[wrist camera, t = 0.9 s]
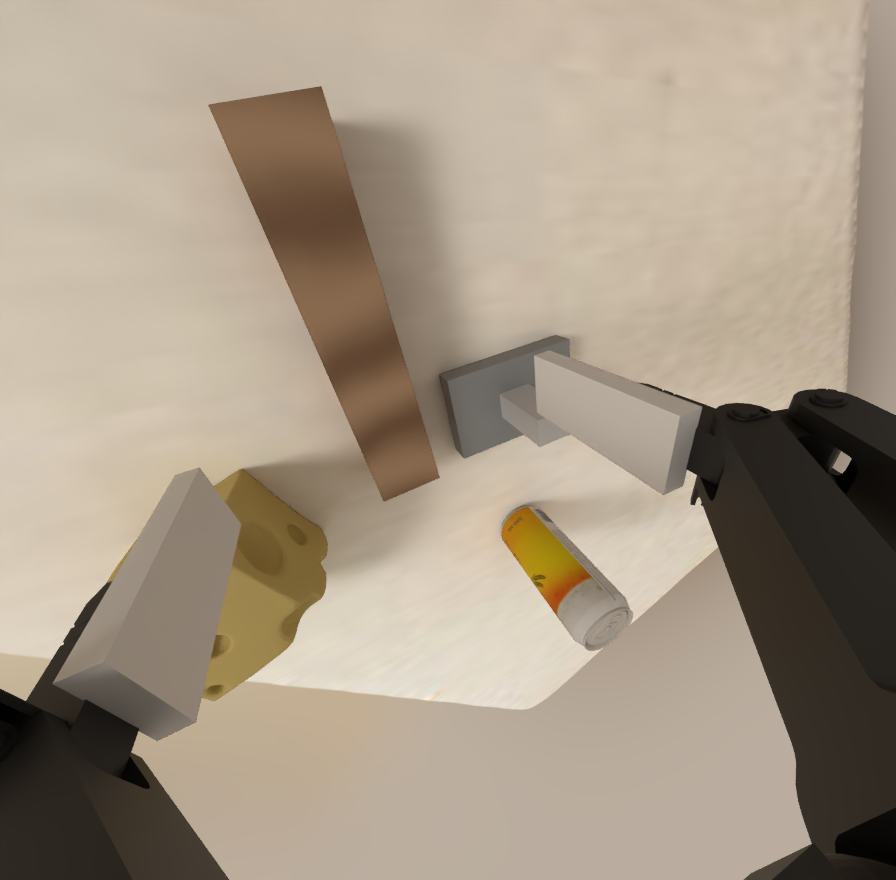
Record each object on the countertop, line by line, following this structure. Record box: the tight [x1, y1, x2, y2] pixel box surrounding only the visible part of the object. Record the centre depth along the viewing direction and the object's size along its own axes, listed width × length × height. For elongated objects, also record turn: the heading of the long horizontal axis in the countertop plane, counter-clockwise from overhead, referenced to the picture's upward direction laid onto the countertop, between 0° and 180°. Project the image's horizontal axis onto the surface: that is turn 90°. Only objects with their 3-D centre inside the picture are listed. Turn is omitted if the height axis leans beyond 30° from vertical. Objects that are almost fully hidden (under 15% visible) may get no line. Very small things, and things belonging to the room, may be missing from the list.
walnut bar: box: [209, 86, 440, 501], centre depth 23 cm, size 24×5×5 cm, turn 13°
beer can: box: [501, 506, 633, 651], centre depth 36 cm, size 6×6×15 cm
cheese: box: [107, 469, 327, 701], centre depth 25 cm, size 10×11×10 cm
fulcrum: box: [439, 335, 570, 458], centre depth 29 cm, size 8×12×8 cm, turn 102°
